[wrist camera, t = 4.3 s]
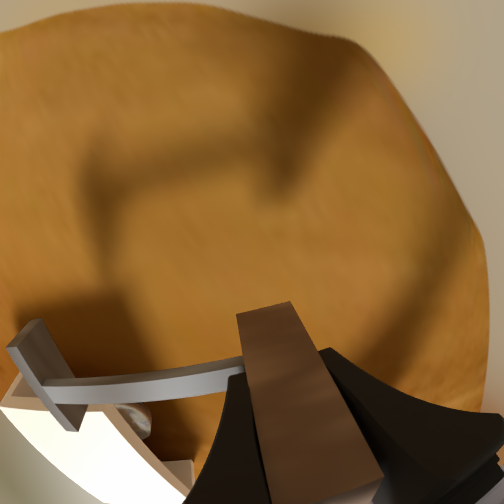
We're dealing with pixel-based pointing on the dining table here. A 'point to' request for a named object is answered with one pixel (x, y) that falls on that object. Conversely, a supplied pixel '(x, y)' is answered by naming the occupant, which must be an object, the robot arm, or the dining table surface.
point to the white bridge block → (99, 452)
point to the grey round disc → (136, 417)
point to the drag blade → (262, 398)
